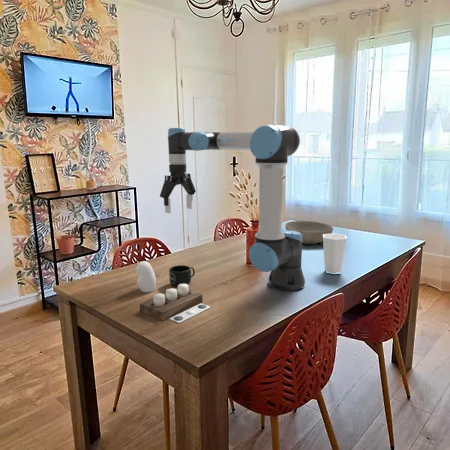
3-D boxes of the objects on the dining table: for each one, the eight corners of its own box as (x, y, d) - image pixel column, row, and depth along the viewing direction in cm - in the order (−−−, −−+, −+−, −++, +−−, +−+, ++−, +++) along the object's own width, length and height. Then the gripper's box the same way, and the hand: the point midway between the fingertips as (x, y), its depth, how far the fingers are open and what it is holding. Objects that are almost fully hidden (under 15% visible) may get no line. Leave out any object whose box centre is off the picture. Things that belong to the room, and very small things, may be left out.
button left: (167, 305, 139) (167, 295, 138) (159, 309, 136) (158, 298, 135) (159, 302, 141) (159, 292, 141) (151, 306, 138) (150, 295, 138)
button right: (190, 295, 148) (190, 285, 147) (183, 298, 145) (183, 288, 144) (183, 292, 151) (183, 282, 150) (175, 295, 148) (175, 285, 147)
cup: (349, 272, 179) (351, 236, 175) (338, 278, 171) (340, 240, 168) (326, 267, 186) (328, 232, 182) (315, 272, 179) (317, 236, 175)
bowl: (280, 236, 244) (280, 220, 242) (322, 235, 247) (323, 219, 245) (292, 248, 217) (292, 231, 215) (339, 247, 220) (340, 229, 218)
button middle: (179, 300, 144) (179, 290, 143) (171, 303, 140) (171, 293, 140) (172, 297, 146) (171, 287, 145) (164, 301, 143) (163, 290, 142)
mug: (177, 290, 159) (177, 273, 157) (165, 284, 166) (164, 268, 164) (201, 283, 167) (200, 267, 165) (188, 277, 173) (188, 262, 172)
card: (211, 307, 142) (210, 306, 142) (179, 323, 130) (179, 322, 130) (200, 304, 146) (200, 302, 145) (169, 319, 133) (169, 318, 133)
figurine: (138, 286, 163) (137, 259, 160) (157, 286, 164) (155, 258, 161) (136, 293, 156) (134, 264, 153) (155, 292, 157) (154, 264, 154)
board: (202, 301, 148) (202, 294, 147) (162, 320, 132) (162, 312, 132) (179, 293, 155) (179, 286, 154) (139, 311, 140) (139, 303, 139)
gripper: (190, 161, 185) (191, 206, 190) (150, 164, 166) (152, 213, 171) (202, 162, 181) (203, 207, 185) (162, 165, 162) (164, 215, 167)
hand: (179, 210), depth 178 cm, fingers open, 13 cm apart
